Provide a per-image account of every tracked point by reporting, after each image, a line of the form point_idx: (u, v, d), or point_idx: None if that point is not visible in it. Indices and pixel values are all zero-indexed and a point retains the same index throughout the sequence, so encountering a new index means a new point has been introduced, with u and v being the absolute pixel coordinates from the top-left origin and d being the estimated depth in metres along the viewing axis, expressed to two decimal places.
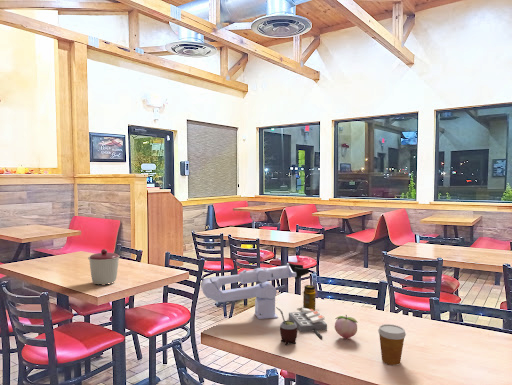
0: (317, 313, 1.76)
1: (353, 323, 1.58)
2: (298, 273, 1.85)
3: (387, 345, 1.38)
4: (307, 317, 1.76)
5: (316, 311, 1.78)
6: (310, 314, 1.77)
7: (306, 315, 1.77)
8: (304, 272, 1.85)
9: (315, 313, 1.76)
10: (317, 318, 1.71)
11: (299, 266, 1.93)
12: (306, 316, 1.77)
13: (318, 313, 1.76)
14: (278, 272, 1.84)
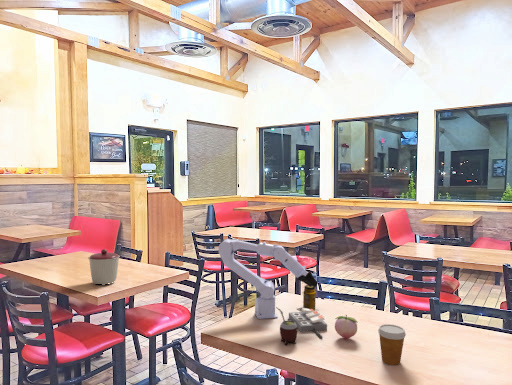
0: (317, 313, 1.76)
1: (353, 323, 1.58)
2: (307, 278, 1.80)
3: (387, 345, 1.38)
4: (307, 317, 1.76)
5: (316, 311, 1.78)
6: (310, 314, 1.77)
7: (306, 315, 1.77)
8: (312, 282, 1.80)
9: (315, 313, 1.76)
10: (317, 318, 1.71)
11: None
12: (306, 316, 1.77)
13: (318, 313, 1.76)
14: (292, 263, 1.82)
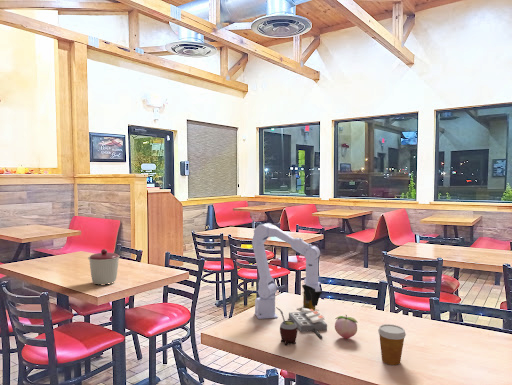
0: (317, 313, 1.76)
1: (353, 323, 1.58)
2: (314, 294, 1.72)
3: (387, 345, 1.38)
4: (307, 317, 1.76)
5: (316, 311, 1.78)
6: (310, 314, 1.77)
7: (306, 315, 1.77)
8: (314, 300, 1.73)
9: (315, 313, 1.76)
10: (317, 318, 1.71)
11: (310, 296, 1.80)
12: (306, 316, 1.77)
13: (318, 313, 1.76)
14: (312, 272, 1.74)
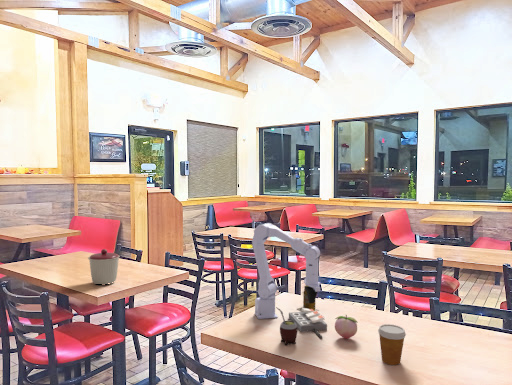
0: (317, 313, 1.76)
1: (353, 323, 1.58)
2: (311, 291, 1.76)
3: (387, 345, 1.38)
4: (307, 317, 1.76)
5: (316, 311, 1.78)
6: (310, 314, 1.77)
7: (306, 315, 1.77)
8: (311, 298, 1.76)
9: (315, 313, 1.76)
10: (317, 318, 1.71)
11: None
12: (306, 316, 1.77)
13: (318, 313, 1.76)
14: (312, 272, 1.73)
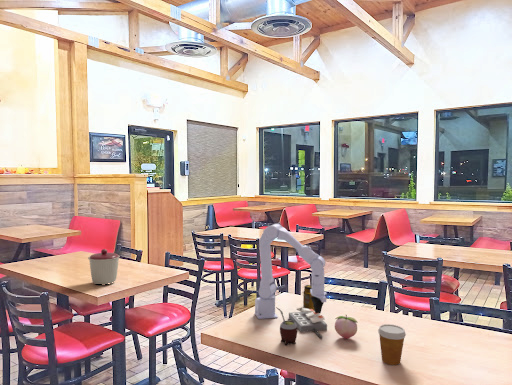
0: (317, 313, 1.76)
1: (353, 323, 1.58)
2: (317, 302, 1.77)
3: (387, 345, 1.38)
4: (307, 317, 1.76)
5: None
6: (310, 314, 1.77)
7: (306, 315, 1.77)
8: (317, 308, 1.77)
9: (315, 313, 1.76)
10: (317, 318, 1.71)
11: None
12: (306, 316, 1.77)
13: (318, 313, 1.76)
14: (318, 283, 1.74)
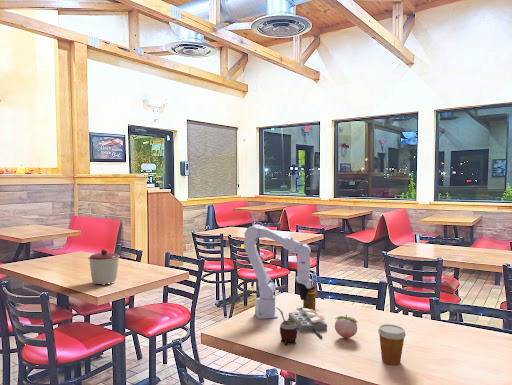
0: (317, 315, 1.76)
1: (353, 323, 1.58)
2: (303, 288, 1.81)
3: (387, 345, 1.38)
4: (307, 315, 1.76)
5: (316, 313, 1.79)
6: (310, 313, 1.77)
7: (306, 313, 1.77)
8: (303, 295, 1.81)
9: (316, 314, 1.77)
10: (317, 318, 1.71)
11: None
12: (306, 314, 1.77)
13: (318, 315, 1.76)
14: (304, 269, 1.78)
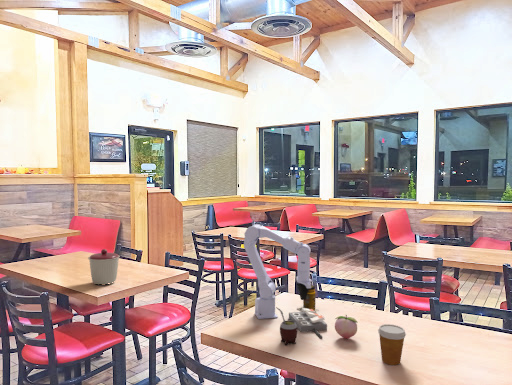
0: (317, 315, 1.76)
1: (353, 323, 1.58)
2: (303, 288, 1.81)
3: (387, 345, 1.38)
4: (307, 314, 1.76)
5: (316, 314, 1.79)
6: (311, 313, 1.77)
7: (307, 312, 1.77)
8: (303, 295, 1.81)
9: (316, 314, 1.77)
10: (317, 318, 1.71)
11: None
12: (306, 313, 1.77)
13: None
14: (304, 269, 1.78)
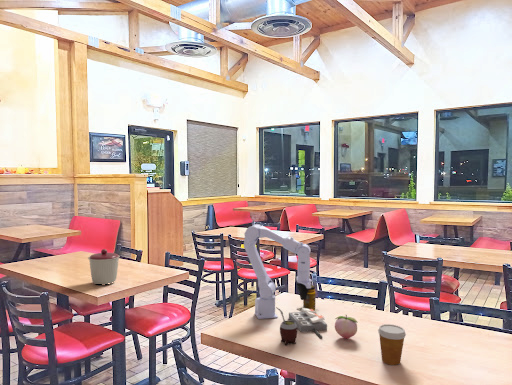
0: (317, 315, 1.76)
1: (353, 323, 1.58)
2: (303, 288, 1.81)
3: (387, 345, 1.38)
4: (307, 314, 1.76)
5: (316, 314, 1.79)
6: (311, 313, 1.77)
7: (307, 312, 1.77)
8: (303, 295, 1.81)
9: (316, 314, 1.77)
10: (317, 318, 1.71)
11: None
12: (306, 313, 1.77)
13: None
14: (304, 269, 1.78)
